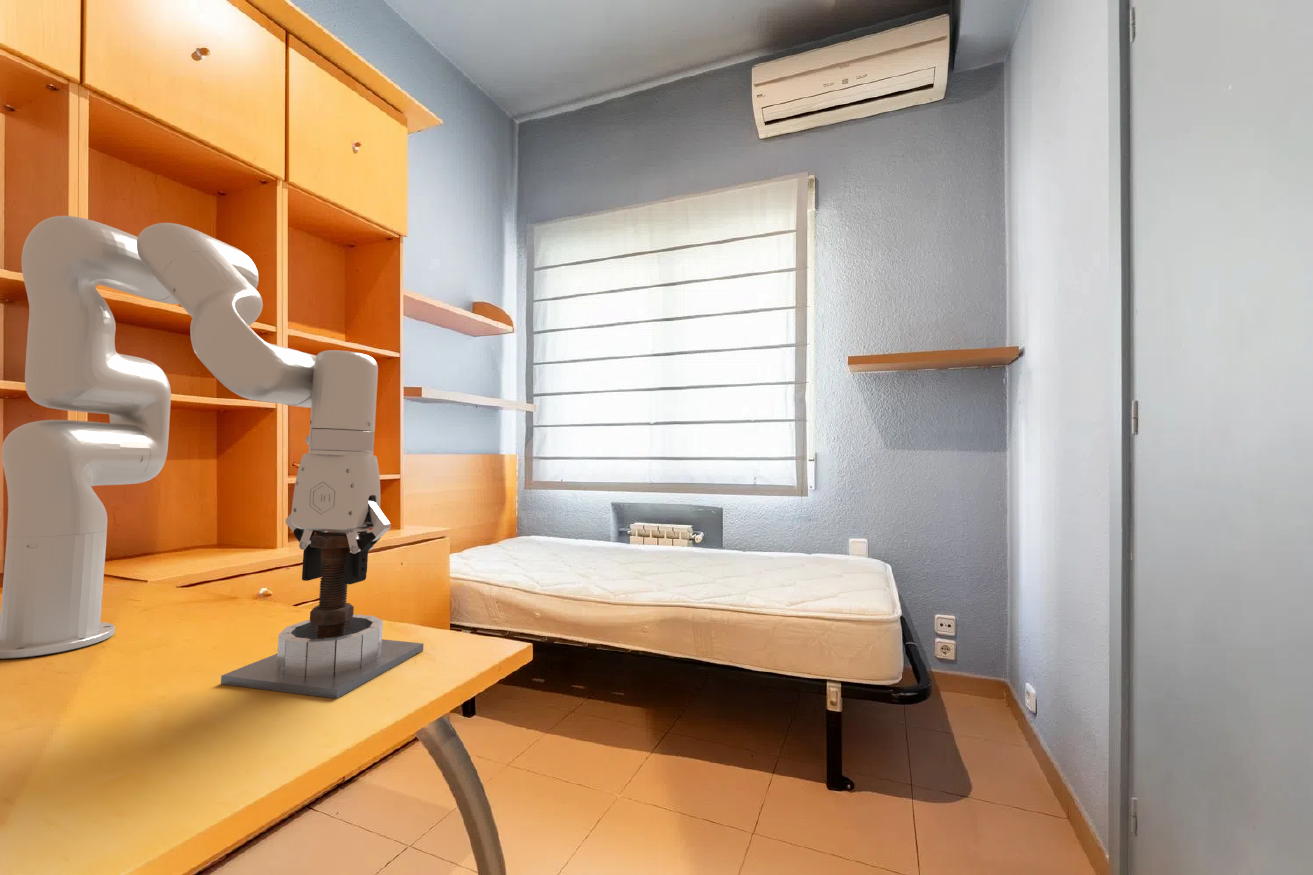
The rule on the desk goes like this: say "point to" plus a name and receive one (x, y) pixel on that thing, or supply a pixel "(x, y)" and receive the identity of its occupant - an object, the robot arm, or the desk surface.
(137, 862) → the desk surface
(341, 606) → the bolt
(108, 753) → the desk surface
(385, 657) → the ring fixture
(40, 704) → the desk surface
